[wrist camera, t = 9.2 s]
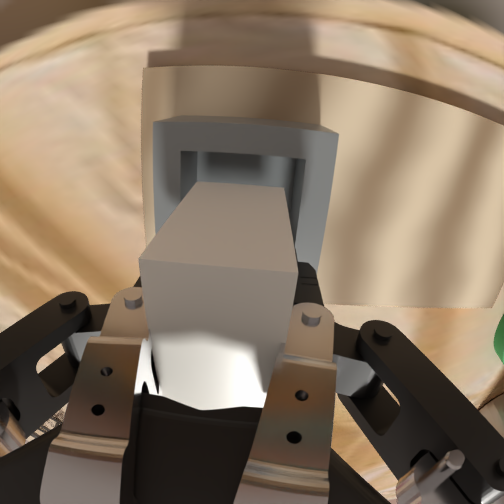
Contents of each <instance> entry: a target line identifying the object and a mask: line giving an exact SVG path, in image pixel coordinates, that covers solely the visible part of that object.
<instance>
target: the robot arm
mask: <svg viewBox="0 0 504 504" xmlns="http://www.w3.org/2000/svg"><path fill="white" fill-rule="evenodd" d="M295 255H296V261H297V267H298V278H297V284H296V290H295V296H294V301H293V307H292V313H291V318H290V324H289V329H288V335H287V340H286V343H281V346H280V350H279V353H278V354H277V357H276V361H275V365H274V369H273V372H272V376H271V380H270V384H269V388H268V391H267V395H266V399H265V402H264V406H263V408H262V407H248V406H241V407H232V408H223V409H212V410H199V409H196V408H193V407H190V406H187V405H185V404H182V403H179V402H177V401H174V400H172V399H169V398H167V397H164V396H162V390H161V385H160V381H158V378H157V374H156V369H155V364H154V359H153V353H152V338H151V332H150V329H148V325H147V319H146V312H145V306H144V299H143V292H142V284H141V276H140V277H139V279H138V280H137V282H136V283H135V285H134V287H130V288H126V289H123V290H121V291H119V292H118V293H116V294H115V295H114V297H113V298H112V301H111V303H110V304H101V305H89V301H88V298H87V296H86V295H85V294H83V293H81V292H76V291H72V292H66V293H62V294H60V295H58V296H56V297H55V298H53V299H52V300H50V301H48V302H47V303H45V304H44V305H42V306H41V307H39V308H38V309H36V310H34V311H33V312H31V313H30V314H28V315H27V316H25V317H24V318H22V319H21V320H19V321H18V322H16V323H15V324H13V325H12V326H10V327H9V328H7V329H6V330H4V331H3V332H1V333H0V504H391V503H390V502H389V501H388V500H387V499H385V498H384V497H383V496H382V495H381V494H380V493H379V492H377V491H376V490H375V489H374V488H373V487H372V486H371V485H370V484H369V483H368V482H366V481H365V480H364V479H363V478H362V477H361V476H360V475H359V474H358V473H357V472H356V471H355V470H354V469H353V468H351V467H350V466H349V465H348V464H347V463H346V462H345V461H344V460H343V459H342V458H341V457H340V456H339V455H338V454H337V453H336V452H335V451H334V450H333V449H332V448H331V441H332V431H333V419H334V407H335V392H336V393H337V394H338V397H339V399H340V401H341V402H342V403H343V405H344V406H345V408H346V409H347V410H348V412H349V413H350V415H351V416H352V417H353V419H354V420H355V422H356V423H357V424H358V426H359V427H360V429H361V430H362V431H363V433H364V434H365V436H366V437H367V438H368V440H369V441H370V442H371V444H372V445H373V447H374V448H375V449H376V451H377V452H378V453H379V455H380V456H381V458H382V459H383V460H384V462H385V463H386V465H387V466H388V467H389V469H390V470H391V471H392V473H393V474H394V475H395V477H396V478H397V480H398V483H397V486H396V497H397V504H504V394H502V395H500V396H498V397H497V398H495V399H494V400H492V401H491V402H489V403H488V404H486V405H485V406H484V407H483V408H482V409H480V410H479V411H478V410H477V409H476V407H475V406H474V405H473V404H472V403H471V402H470V401H469V400H468V399H467V398H466V397H465V396H464V395H463V394H462V393H461V392H460V391H459V390H458V389H457V387H456V386H455V385H454V384H453V383H452V382H451V381H450V380H449V379H448V378H447V377H446V376H445V375H444V374H443V373H442V372H441V371H440V370H439V369H438V368H437V367H436V366H435V365H434V364H433V363H432V362H431V361H430V360H429V359H428V358H427V357H426V356H425V355H424V354H423V353H422V352H421V351H420V350H419V349H418V348H417V347H416V346H415V345H414V344H413V343H412V342H411V341H410V340H409V339H408V338H407V337H406V336H405V335H404V334H403V333H402V332H401V331H400V330H399V329H398V328H396V327H395V326H394V325H392V324H390V323H388V322H385V321H380V320H371V321H368V322H365V323H364V324H363V325H362V326H361V328H360V330H356V329H352V328H348V327H345V326H342V325H340V324H338V323H336V322H334V316H333V314H332V313H331V312H330V310H328V309H327V308H325V307H324V304H323V299H322V295H321V291H320V287H319V283H318V279H317V274H316V270H315V269H314V268H313V267H312V266H311V265H310V264H309V263H308V262H298V259H297V253H296V249H295ZM60 343H61V344H62V346H63V349H64V351H65V353H64V354H63V355H62V356H60V357H59V358H58V359H57V360H55V361H54V362H53V363H51V364H50V365H49V366H48V367H46V368H45V369H44V370H42V371H41V372H40V373H39V374H38V373H37V371H36V365H37V362H38V361H39V359H40V358H41V357H43V356H44V355H45V354H47V353H48V352H49V351H51V350H52V349H53V348H55V347H56V346H57V345H59V344H60ZM383 383H385V385H386V386H387V387H388V388H389V389H390V391H391V392H392V393H393V394H394V395H395V396H396V398H397V399H398V401H399V403H400V406H399V405H398V404H397V402H396V401H395V400H394V399H393V398H392V396H391V395H390V394H389V393H388V392H387V390H386V389H385V388H384V387H383V386H382V385H383ZM67 403H68V405H67V409H66V412H65V416H64V420H63V423H62V424H60V425H58V426H57V427H55V428H53V429H51V430H50V431H48V432H46V433H44V434H43V435H41V436H39V437H37V438H35V439H34V440H32V441H30V442H28V443H27V444H25V441H26V439H27V438H28V437H29V436H30V435H31V434H32V433H33V432H35V431H36V430H37V429H38V428H39V427H40V426H41V425H43V424H44V423H45V422H46V421H47V420H48V419H49V418H51V417H52V416H53V415H54V414H55V413H56V412H57V411H59V410H60V409H61V408H62V407H63V406H64V405H65V404H67Z"/></svg>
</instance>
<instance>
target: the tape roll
mask: <svg viewBox="0 0 504 504" xmlns="http://www.w3.org/2000/svg"><path fill="white" fill-rule="evenodd" d="M494 349H495V351H496V353H497V355H498V356H499V358H500V359H501V361H502V363H503V364H504V315H503V316H502V318H501V320H500V322H499V325H498V327H497V330H496V333H495V337H494Z"/></svg>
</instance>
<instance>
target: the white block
mask: <svg viewBox="0 0 504 504" xmlns="http://www.w3.org/2000/svg"><path fill="white" fill-rule="evenodd" d="M139 268H140V276H141V284H142V292H143V299H144V306H145V312H146V319H147V325H148V329H150V332H151V338H152V353H153V359H154V364H155V369H156V374H157V378H158V381H160V385H161V390H162V396H164V397H167V398H169V399H172V400H174V401H177V402H179V403H182V404H185V405H187V406H190V407H193V408H196V409H199V410H212V409H223V408H232V407H241V406H248V407H262V408H263V406H264V402H265V399H266V395H267V391H268V388H269V384H270V380H271V376H272V372H273V369H274V365H275V361H276V357H277V354H278V353H279V350H280V346H281V343H286V340H287V335H288V329H289V324H290V318H291V313H292V307H293V301H294V296H295V290H296V284H297V278H298V267H297V261H296V255H295V248H294V242H293V236H292V231H291V225H290V219H289V213H288V208H287V202H286V196H285V191H284V188H281V187H270V186H258V185H245V184H231V183H216V182H198V181H197V182H196V183H195V185H194V186H193V187H192V188H191V190H190V191H189V192H188V193H187V195H186V196H185V197H184V198H183V200H182V201H181V202H180V204H179V205H178V206H177V207H176V209H175V210H174V211H173V213H172V214H171V215H170V217H169V218H168V219H167V221H166V222H165V223H164V224H163V226H162V227H161V228H160V230H159V231H158V233H157V234H156V235H155V237H154V238H153V239H152V241H151V242H150V243H149V245H148V246H147V247H146V249H145V250H144V252H143V253H142V254H141V256H140V257H139Z"/></svg>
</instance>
